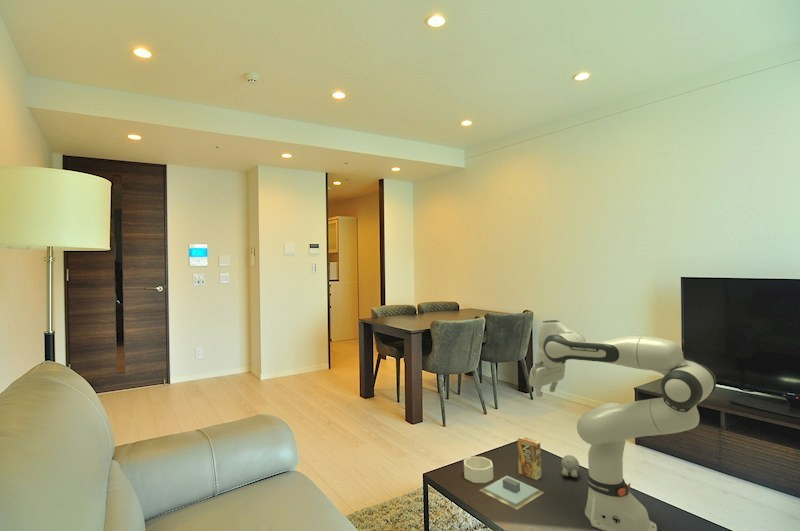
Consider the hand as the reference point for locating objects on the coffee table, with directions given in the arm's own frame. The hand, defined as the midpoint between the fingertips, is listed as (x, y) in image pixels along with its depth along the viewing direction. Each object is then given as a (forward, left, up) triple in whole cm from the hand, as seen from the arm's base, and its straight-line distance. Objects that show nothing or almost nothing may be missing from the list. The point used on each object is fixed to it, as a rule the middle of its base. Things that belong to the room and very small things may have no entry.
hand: (545, 393), depth 169 cm
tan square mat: (+9, +12, -39) cm, 42 cm away
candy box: (+12, -5, -39) cm, 41 cm away
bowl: (+26, +12, -39) cm, 48 cm away
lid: (+9, +12, -38) cm, 41 cm away
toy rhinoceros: (+1, -19, -39) cm, 43 cm away
